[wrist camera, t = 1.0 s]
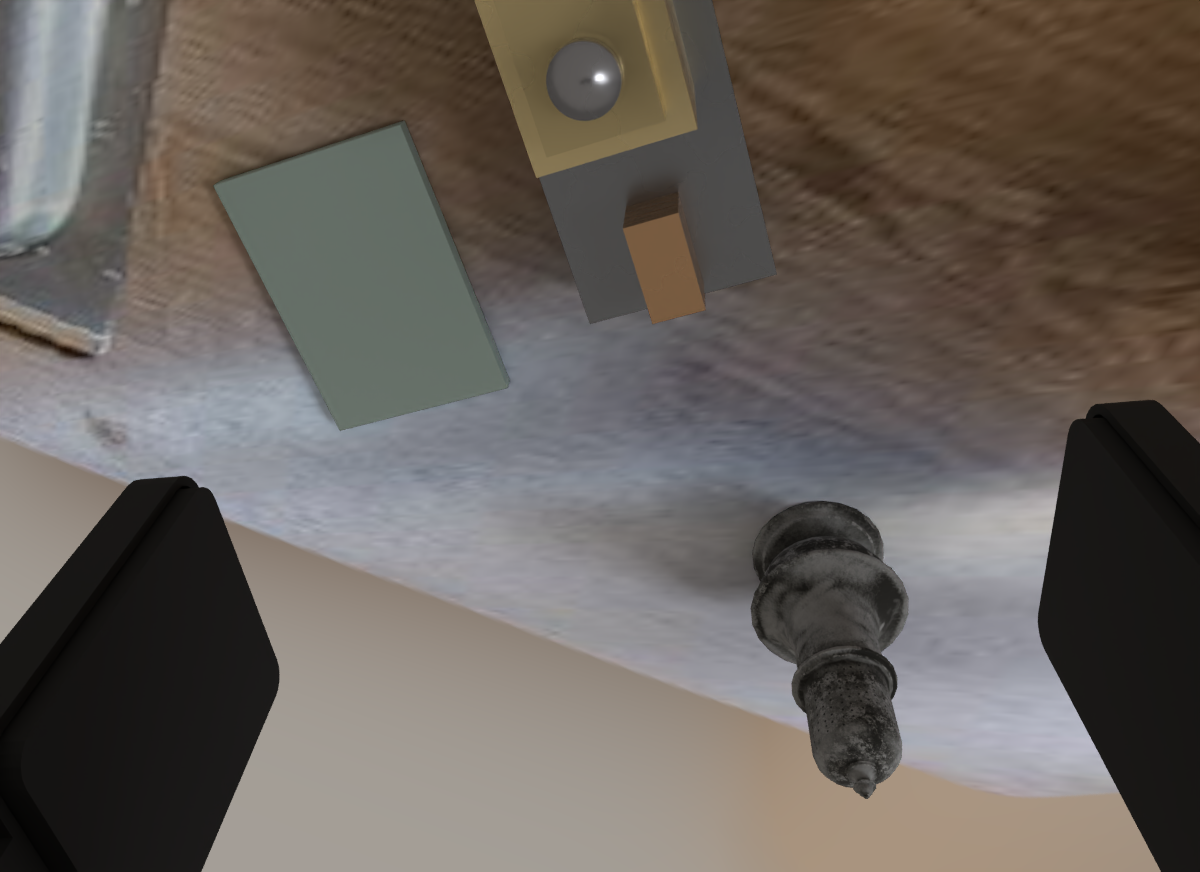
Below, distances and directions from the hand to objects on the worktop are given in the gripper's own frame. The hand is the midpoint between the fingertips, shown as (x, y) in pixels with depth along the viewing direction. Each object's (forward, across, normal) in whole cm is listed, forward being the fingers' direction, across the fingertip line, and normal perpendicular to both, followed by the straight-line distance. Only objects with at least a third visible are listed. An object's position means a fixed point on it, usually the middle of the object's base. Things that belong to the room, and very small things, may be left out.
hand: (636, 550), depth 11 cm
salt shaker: (+23, -6, +19) cm, 30 cm away
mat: (+24, +10, +6) cm, 26 cm away
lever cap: (+19, +1, -4) cm, 20 cm away
